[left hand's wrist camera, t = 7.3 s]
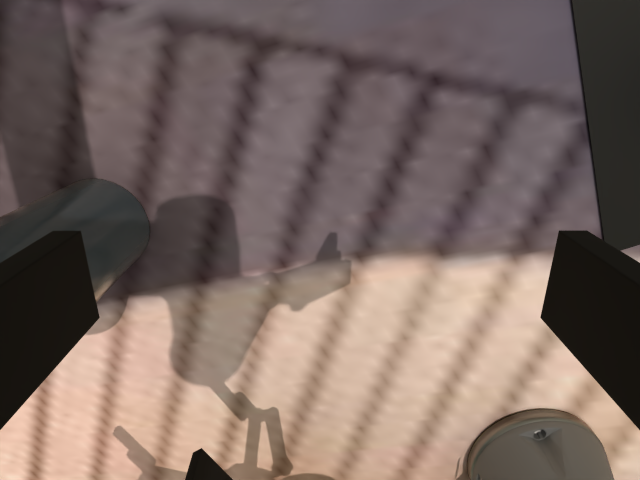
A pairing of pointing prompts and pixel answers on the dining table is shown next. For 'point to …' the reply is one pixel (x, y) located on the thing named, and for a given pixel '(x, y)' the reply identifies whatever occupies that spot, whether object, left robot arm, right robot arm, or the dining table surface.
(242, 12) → the dining table surface
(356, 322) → the dining table surface
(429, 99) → the dining table surface
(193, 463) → the right robot arm
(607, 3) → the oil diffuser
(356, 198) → the dining table surface
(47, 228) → the jar
